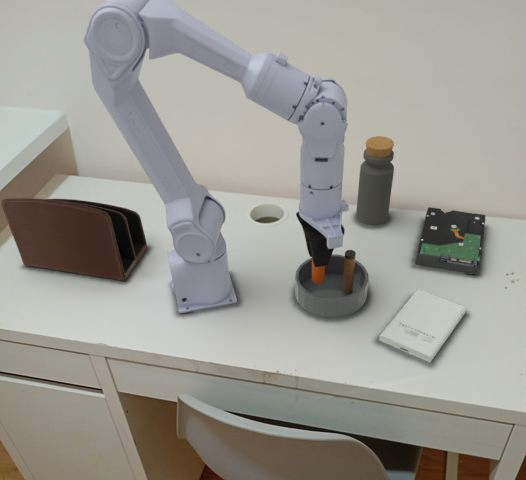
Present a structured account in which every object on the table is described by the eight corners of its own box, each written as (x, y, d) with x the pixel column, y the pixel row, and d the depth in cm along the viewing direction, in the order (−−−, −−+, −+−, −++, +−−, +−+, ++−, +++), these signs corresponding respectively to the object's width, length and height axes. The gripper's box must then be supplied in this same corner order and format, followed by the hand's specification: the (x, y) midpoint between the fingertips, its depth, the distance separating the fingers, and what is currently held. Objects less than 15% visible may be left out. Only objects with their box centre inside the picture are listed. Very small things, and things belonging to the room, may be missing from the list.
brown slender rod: (344, 294, 93) (346, 256, 88) (340, 288, 94) (343, 250, 89) (353, 292, 93) (357, 255, 88) (350, 286, 94) (353, 248, 89)
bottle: (386, 228, 106) (396, 151, 95) (354, 226, 107) (361, 149, 96) (388, 210, 110) (398, 135, 99) (357, 208, 111) (363, 133, 100)
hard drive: (464, 315, 89) (429, 364, 82) (415, 296, 92) (378, 341, 86) (466, 307, 88) (431, 356, 81) (417, 288, 91) (379, 333, 85)
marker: (313, 284, 90) (314, 239, 84) (309, 276, 91) (310, 231, 85) (326, 282, 90) (328, 237, 84) (322, 274, 91) (324, 229, 85)
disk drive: (424, 219, 107) (414, 266, 98) (426, 206, 105) (416, 253, 96) (482, 227, 105) (478, 276, 95) (486, 213, 103) (482, 262, 93)
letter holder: (125, 282, 98) (105, 210, 88) (23, 266, 102) (-7, 196, 92) (148, 248, 105) (132, 177, 95) (52, 234, 109) (27, 166, 99)
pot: (306, 325, 89) (306, 305, 86) (287, 280, 97) (287, 260, 94) (376, 311, 90) (379, 292, 87) (352, 268, 98) (354, 249, 95)
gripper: (368, 202, 74) (359, 284, 83) (333, 150, 83) (329, 229, 93) (314, 211, 73) (312, 293, 82) (286, 157, 83) (287, 236, 92)
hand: (318, 260), depth 88 cm, fingers closed on marker, 2 cm apart
